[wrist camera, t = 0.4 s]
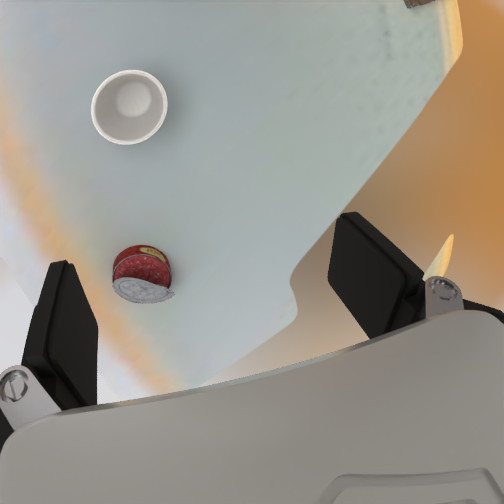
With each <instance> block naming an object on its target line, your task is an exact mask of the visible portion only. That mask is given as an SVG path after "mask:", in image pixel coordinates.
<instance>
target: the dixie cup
mask: <svg viewBox="0 0 504 504" xmlns="http://www.w3.org/2000/svg"><path fill="white" fill-rule="evenodd" d="M167 108H168V101H167V95H166V92H165V90H164V88H163V86H162V84H161V83H160V82H159V81H158V80H157V79H156V78H155V77H154V76H152V75H151V74H149V73H147V72H144V71H140V70H124V71H120V72H118V73H115V74H113V75H111V76H110V77H108V78H107V79H106V80H105V81H104V82H103V83H102V84H101V85H100V86H99V87H98V89H97V91H96V92H95V94H94V97H93V100H92V104H91V116H92V120H93V123H94V126H95V127H96V129H97V131H98V132H99V133H100V134H101V135H102V136H103V137H104V138H106V139H107V140H109V141H111V142H113V143H116V144H122V145H131V144H136V143H139V142H142V141H144V140H146V139H148V138H149V137H151V136H152V135H153V134H154V133H155V132H156V131H157V130H158V129H159V128H160V127H161V125H162V123H163V121H164V119H165V117H166V113H167Z"/></svg>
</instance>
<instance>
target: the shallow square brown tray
mask: <svg viewBox="0 0 504 504" xmlns="http://www.w3.org/2000/svg"><path fill="white" fill-rule="evenodd" d="M404 1H405V4H406V6H407V8H412V7H415V6H417V5H423V4H426V3H429V2H432V1H435V0H404Z"/></svg>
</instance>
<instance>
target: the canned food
mask: <svg viewBox="0 0 504 504" xmlns="http://www.w3.org/2000/svg"><path fill="white" fill-rule="evenodd" d="M171 281H172V277H171V271H170V265H169V262H168V259H167V258H166V256H165V255H164V254H163V253H162V252H161V251H159V250H158V249H156V248H154V247H151V246H146V245H137V246H132V247H129V248H127V249H125V250H124V251H122V252H121V253H120V254H119V255H118V256H117V258H116V260H115V262H114V265H113V275H112V282H113V288H114V290H115V292H116V293H117V294H119V295H120V296H121V297H122V298H124V299H126V300H128V301H131V302H134V303H157V302H162V301H165V300H167V299H169V298H171V297H172V296H173V295H175V294H174V292H171V291H170V290H169V288H170V285H171Z"/></svg>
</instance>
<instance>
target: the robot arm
mask: <svg viewBox="0 0 504 504" xmlns="http://www.w3.org/2000/svg"><path fill="white" fill-rule="evenodd" d="M423 276H424V272H423V271H422V270H421V269H420V268H419V267H418V266H417V265H416V264H415V263H414V262H412V261H411V260H410V259H409V258H408V257H407V256H406V255H405V254H404V253H403V252H402V251H401V250H400V249H398V248H397V247H396V246H395V245H394V244H393V243H392V242H391V241H390V240H389V239H387V238H386V237H385V236H384V235H383V234H382V233H381V232H380V231H379V230H377V229H376V228H375V227H374V226H373V225H372V224H371V223H369V222H368V221H367V220H366V219H365V218H364V217H362V216H361V215H360V214H359V213H357V212H349V213H343V214H341V215H340V218H338V219H337V220H336V227H335V233H334V240H333V246H332V253H331V258H330V264H329V271H328V282H329V284H330V286H331V287H332V288H333V290H334V291H335V292H336V294H337V295H338V296H339V298H340V299H341V300H342V302H343V303H344V304H345V306H346V307H347V308H348V310H349V311H350V312H351V314H352V315H353V317H354V318H355V319H356V320H357V322H358V323H359V325H360V326H361V328H362V329H363V330H364V332H365V333H366V334H367V336H368V337H369V338H370V340H367V341H364V342H361V343H358V344H356V345H353V346H350V347H347V348H344V349H341V350H338V351H335V352H331V353H328V354H325V355H322V356H319V357H315V358H313V359H309V360H306V361H302V362H299V363H296V364H292V365H288V366H285V367H281V368H278V369H274V370H270V371H267V372H263V373H259V374H255V375H252V376H247V377H243V378H239V379H235V380H230V381H226V382H222V383H218V384H213V385H209V386H204V387H199V388H194V389H189V390H184V391H179V392H174V393H168V394H163V395H157V396H151V397H145V398H139V399H133V400H127V401H120V402H114V403H106V404H99V405H97V350H98V325H97V321H96V319H95V317H94V314H93V312H92V310H91V307H90V305H89V303H88V300H87V298H86V295H85V293H84V290H83V288H82V285H81V283H80V280H79V277H78V275H77V272H76V269H75V267H74V265H73V264H72V263H71V264H69V263H68V262H67V261H66V260H63V261H58V262H53V263H51V264H50V266H49V269H48V272H47V275H46V278H45V281H44V284H43V288H42V291H41V294H40V298H39V301H38V305H36V306H35V309H34V312H33V315H32V319H31V323H30V327H29V331H28V335H27V339H26V344H25V348H24V353H23V357H22V362H21V365H16V366H12V367H9V368H8V369H6V370H4V371H3V372H2V373H1V374H0V504H504V313H503V312H502V311H500V310H497V309H495V308H491V307H488V306H485V305H482V304H478V303H475V302H471V301H468V300H465V299H462V293H461V290H460V289H459V287H458V286H457V285H456V284H455V283H454V282H452V281H451V280H449V279H447V278H444V277H440V276H432V277H430V278H428V279H427V280H426V282H425V281H424V280H423V279H422V278H423Z"/></svg>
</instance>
